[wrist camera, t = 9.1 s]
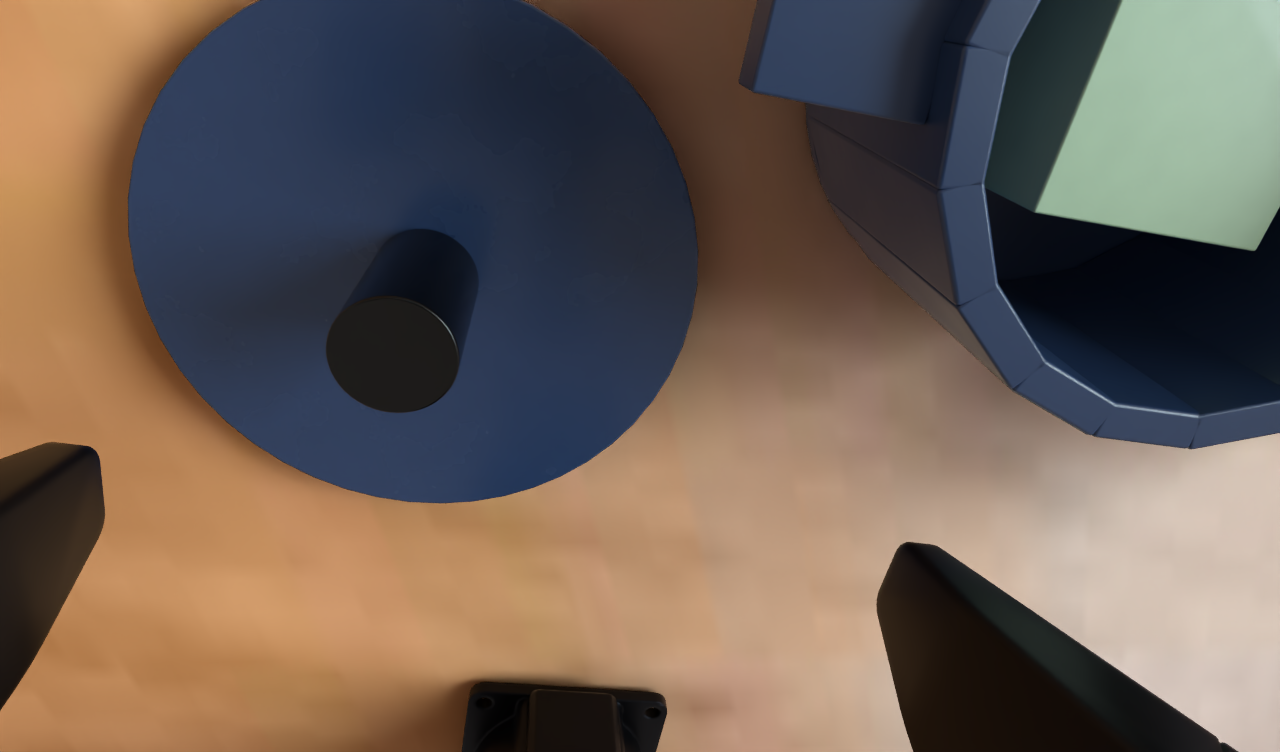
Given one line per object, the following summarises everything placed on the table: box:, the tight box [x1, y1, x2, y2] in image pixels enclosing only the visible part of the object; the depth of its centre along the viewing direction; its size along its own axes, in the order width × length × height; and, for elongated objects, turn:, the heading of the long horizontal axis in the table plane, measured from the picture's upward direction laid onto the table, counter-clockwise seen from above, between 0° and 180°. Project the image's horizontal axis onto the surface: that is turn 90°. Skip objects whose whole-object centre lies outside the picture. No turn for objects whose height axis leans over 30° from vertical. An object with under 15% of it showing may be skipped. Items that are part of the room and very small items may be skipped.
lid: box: [128, 0, 698, 503], centre depth 17 cm, size 13×13×5 cm
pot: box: [739, 0, 1280, 449], centre depth 15 cm, size 12×17×8 cm
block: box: [984, 0, 1280, 251], centre depth 16 cm, size 5×5×5 cm
